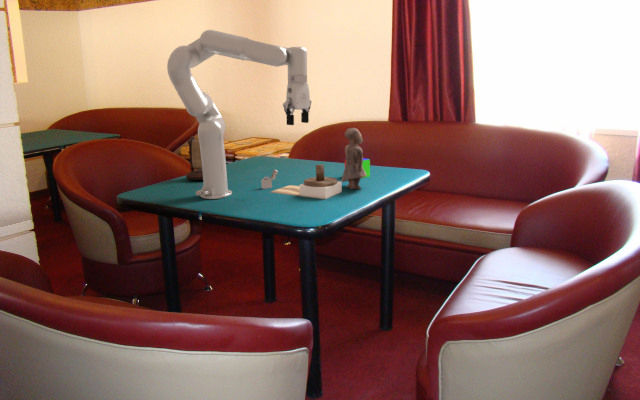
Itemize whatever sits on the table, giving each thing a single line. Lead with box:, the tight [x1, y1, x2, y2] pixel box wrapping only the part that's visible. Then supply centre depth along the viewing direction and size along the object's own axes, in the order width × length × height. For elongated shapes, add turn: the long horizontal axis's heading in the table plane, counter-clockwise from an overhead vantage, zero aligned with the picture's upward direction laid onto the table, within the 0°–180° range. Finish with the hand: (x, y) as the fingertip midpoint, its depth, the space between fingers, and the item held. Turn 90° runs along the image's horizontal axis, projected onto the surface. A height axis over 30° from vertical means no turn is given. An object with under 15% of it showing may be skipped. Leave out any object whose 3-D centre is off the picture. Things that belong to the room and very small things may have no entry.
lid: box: [303, 164, 338, 187], centre depth 221 cm, size 13×13×7 cm
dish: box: [298, 180, 343, 200], centre depth 223 cm, size 12×12×5 cm
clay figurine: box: [341, 127, 367, 190], centre depth 230 cm, size 13×10×25 cm
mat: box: [270, 184, 300, 197], centre depth 231 cm, size 14×14×1 cm
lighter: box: [260, 169, 279, 190], centre depth 237 cm, size 7×2×8 cm, turn 116°
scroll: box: [185, 135, 203, 182], centre depth 260 cm, size 15×15×20 cm
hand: (297, 123), depth 224 cm, fingers open, 9 cm apart
